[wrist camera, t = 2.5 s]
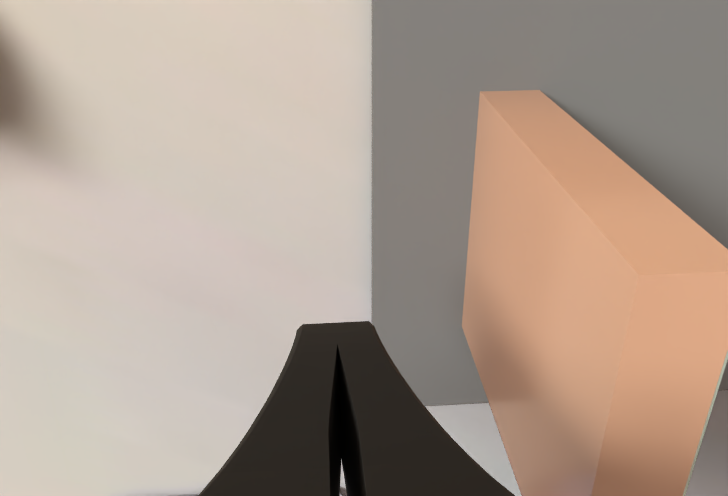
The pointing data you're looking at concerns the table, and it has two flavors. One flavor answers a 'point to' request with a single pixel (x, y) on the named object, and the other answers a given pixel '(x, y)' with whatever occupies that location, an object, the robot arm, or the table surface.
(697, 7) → the mat
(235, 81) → the table surface
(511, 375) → the tile
